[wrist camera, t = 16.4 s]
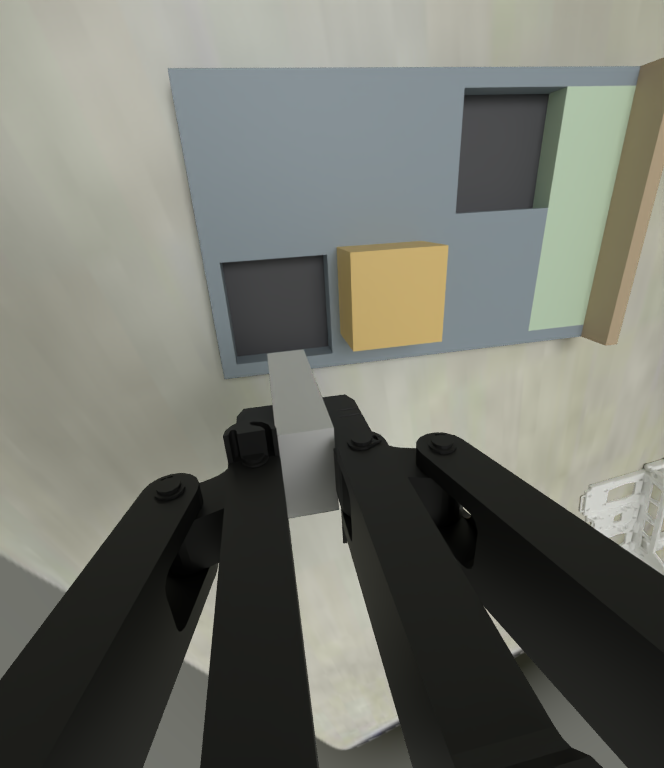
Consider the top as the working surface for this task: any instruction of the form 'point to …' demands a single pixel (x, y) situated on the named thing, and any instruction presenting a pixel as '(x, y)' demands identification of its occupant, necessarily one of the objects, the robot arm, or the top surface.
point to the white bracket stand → (630, 512)
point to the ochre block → (391, 294)
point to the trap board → (420, 197)
